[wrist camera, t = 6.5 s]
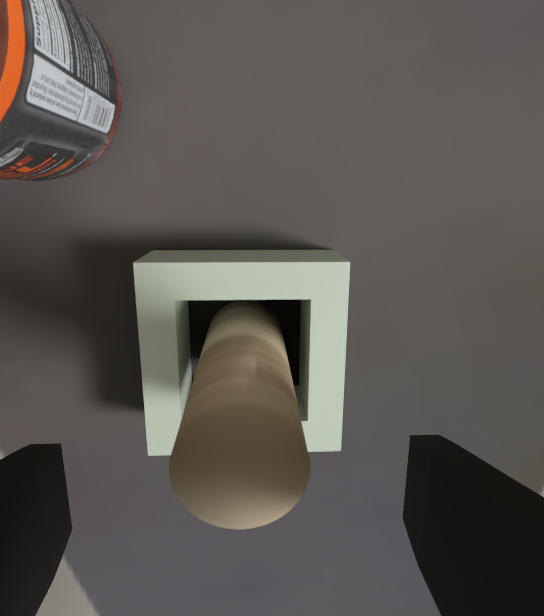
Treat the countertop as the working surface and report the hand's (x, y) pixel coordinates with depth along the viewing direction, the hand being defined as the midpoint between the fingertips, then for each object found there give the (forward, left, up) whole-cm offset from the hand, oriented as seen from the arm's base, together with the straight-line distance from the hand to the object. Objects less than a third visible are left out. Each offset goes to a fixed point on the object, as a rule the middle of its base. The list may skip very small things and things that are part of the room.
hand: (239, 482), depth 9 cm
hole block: (0, 0, -9) cm, 9 cm away
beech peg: (0, 0, -9) cm, 9 cm away
